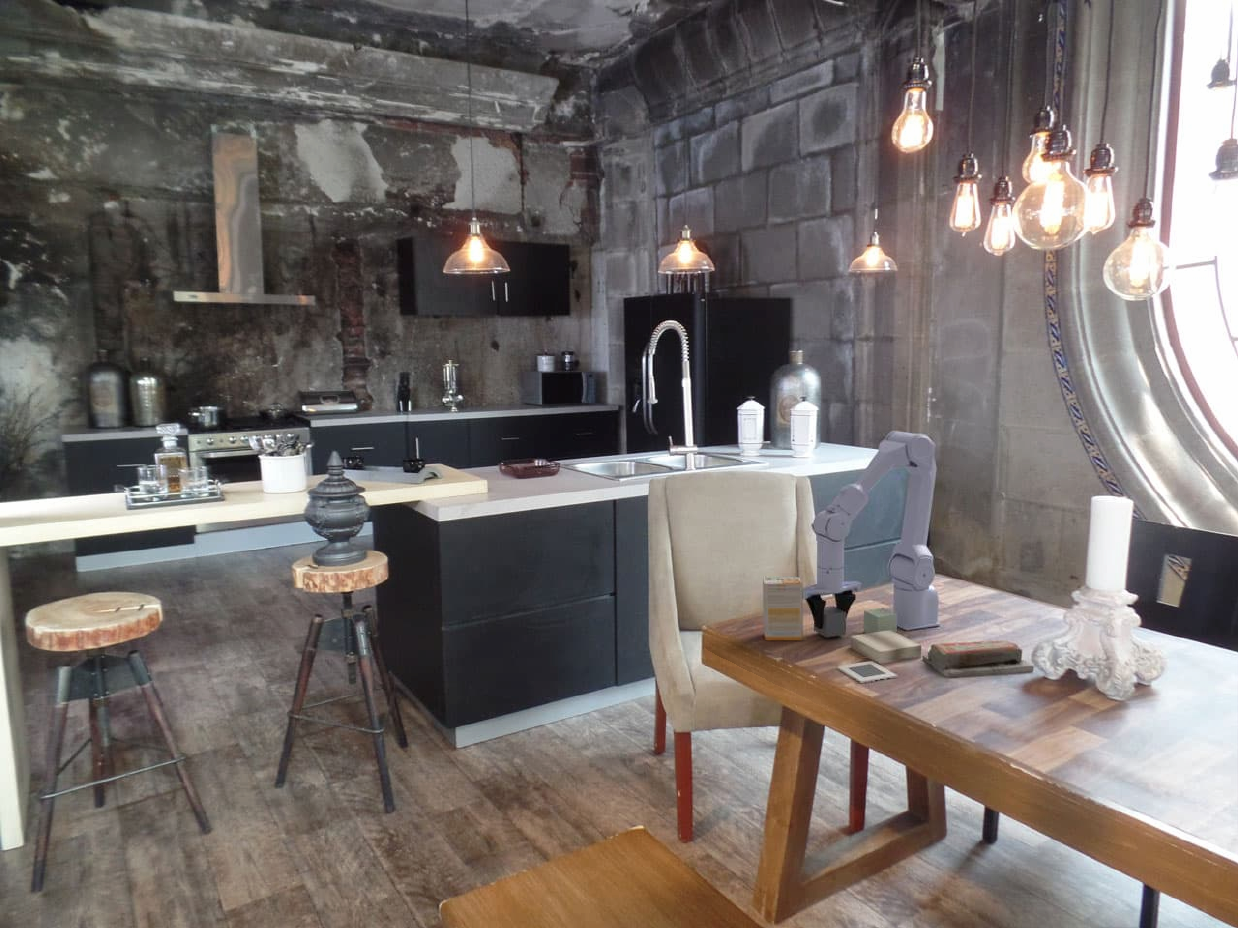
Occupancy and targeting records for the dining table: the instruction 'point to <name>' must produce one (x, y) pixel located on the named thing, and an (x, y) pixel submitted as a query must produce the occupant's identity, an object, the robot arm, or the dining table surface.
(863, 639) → the birch base block
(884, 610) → the sage block
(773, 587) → the supplement box
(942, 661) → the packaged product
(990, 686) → the dining table surface
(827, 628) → the charcoal block
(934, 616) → the robot arm
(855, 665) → the tile
